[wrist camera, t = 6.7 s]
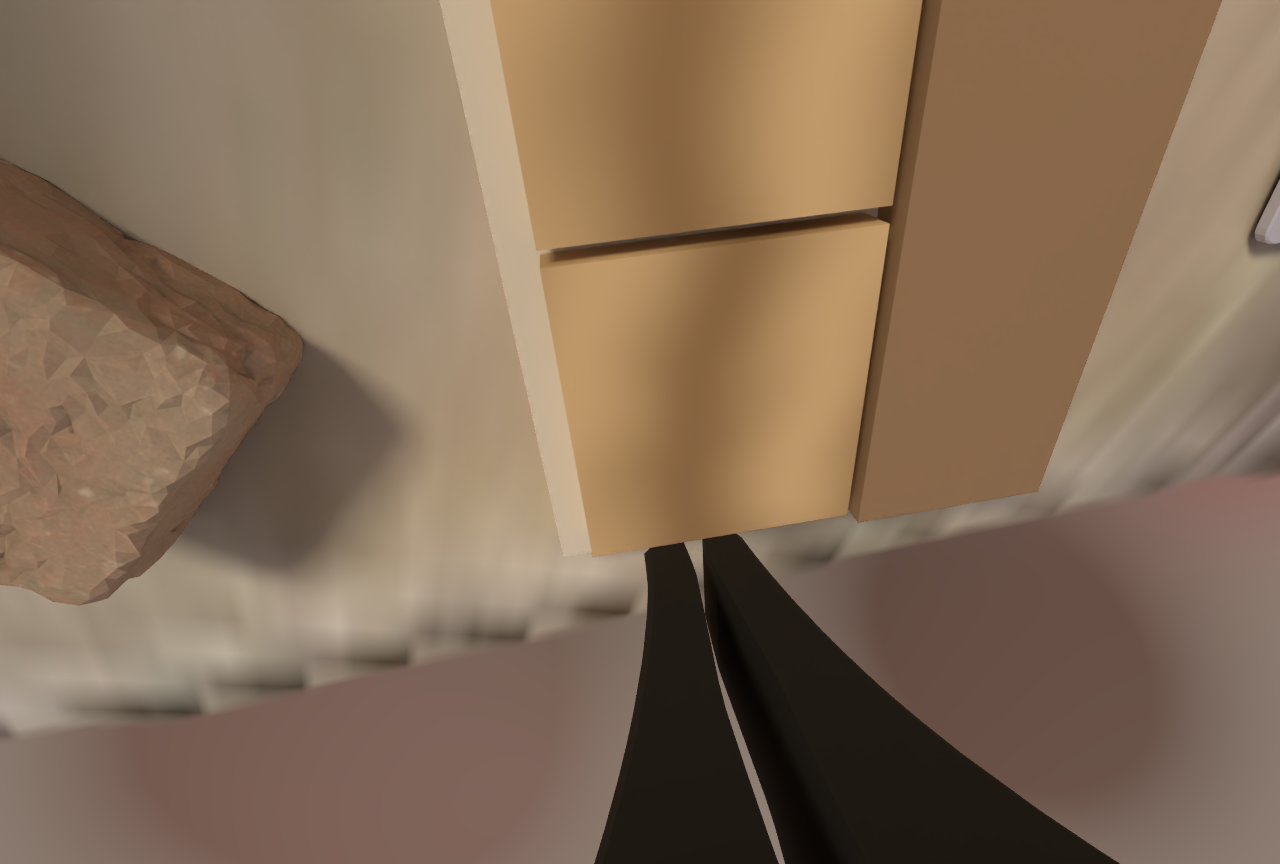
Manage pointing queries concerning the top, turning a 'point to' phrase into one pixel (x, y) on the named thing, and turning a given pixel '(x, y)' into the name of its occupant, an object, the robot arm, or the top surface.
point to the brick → (114, 392)
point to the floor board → (932, 236)
